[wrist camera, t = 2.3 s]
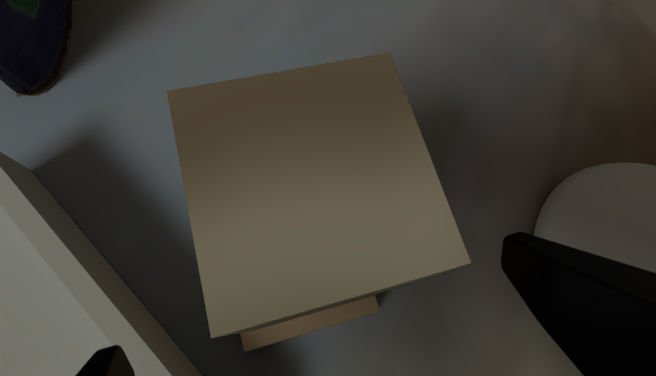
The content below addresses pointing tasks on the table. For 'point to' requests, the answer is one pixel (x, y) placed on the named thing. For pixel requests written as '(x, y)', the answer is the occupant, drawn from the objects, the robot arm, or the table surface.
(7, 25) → the flask
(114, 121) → the table surface
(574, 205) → the flower in vase
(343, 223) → the stepped wooden block
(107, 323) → the box
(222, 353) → the table surface
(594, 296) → the robot arm
